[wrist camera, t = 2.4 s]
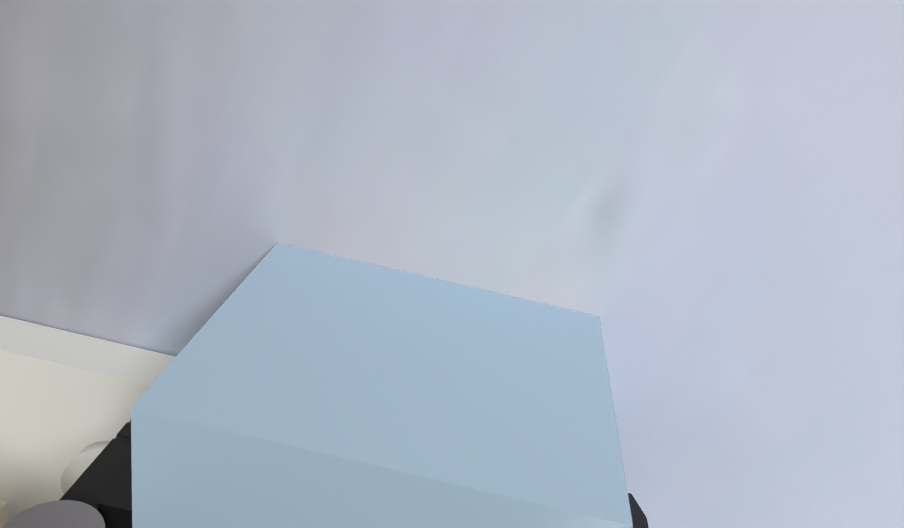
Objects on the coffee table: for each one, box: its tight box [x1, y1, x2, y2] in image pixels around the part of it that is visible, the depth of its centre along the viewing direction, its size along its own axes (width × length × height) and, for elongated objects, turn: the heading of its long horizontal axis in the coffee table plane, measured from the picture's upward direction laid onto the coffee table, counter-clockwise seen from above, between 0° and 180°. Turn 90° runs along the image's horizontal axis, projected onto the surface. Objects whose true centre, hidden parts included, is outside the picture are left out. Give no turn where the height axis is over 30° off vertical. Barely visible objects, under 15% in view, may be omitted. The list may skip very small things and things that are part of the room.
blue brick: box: [131, 242, 633, 528], centre depth 12 cm, size 6×6×5 cm
